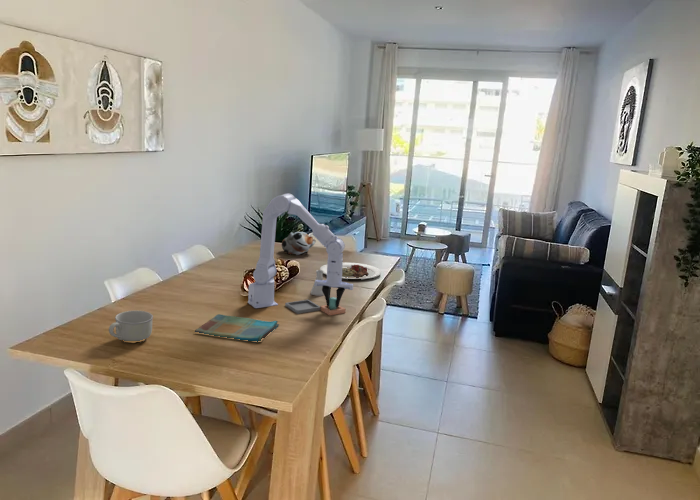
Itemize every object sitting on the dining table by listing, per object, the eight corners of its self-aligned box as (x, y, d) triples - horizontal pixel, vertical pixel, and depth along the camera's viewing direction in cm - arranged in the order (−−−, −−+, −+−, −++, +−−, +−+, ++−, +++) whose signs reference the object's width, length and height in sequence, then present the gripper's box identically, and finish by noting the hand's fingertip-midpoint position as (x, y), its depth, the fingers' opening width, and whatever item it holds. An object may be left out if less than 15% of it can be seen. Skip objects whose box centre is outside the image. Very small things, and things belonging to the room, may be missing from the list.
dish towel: (261, 345, 164) (261, 338, 163) (193, 336, 168) (193, 328, 168) (279, 327, 180) (279, 320, 179) (217, 318, 185) (217, 312, 184)
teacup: (142, 330, 169) (141, 307, 167) (160, 340, 162) (159, 316, 160) (99, 342, 158) (98, 317, 156) (116, 353, 151) (115, 327, 150)
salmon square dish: (329, 316, 192) (329, 311, 191) (320, 310, 197) (320, 305, 197) (345, 313, 196) (345, 308, 195) (335, 307, 201) (335, 303, 201)
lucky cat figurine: (308, 249, 299) (317, 228, 291) (308, 263, 289) (318, 242, 281) (280, 241, 294) (289, 219, 286) (279, 255, 284) (289, 233, 276)
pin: (331, 312, 194) (331, 300, 193) (327, 310, 197) (327, 297, 196) (338, 311, 196) (338, 299, 195) (333, 309, 198) (334, 296, 197)
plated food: (313, 278, 241) (313, 271, 241) (327, 263, 270) (327, 257, 270) (376, 284, 237) (377, 277, 236) (384, 269, 265) (384, 262, 265)
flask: (324, 297, 214) (325, 274, 212) (308, 295, 215) (308, 272, 213) (329, 292, 221) (330, 269, 218) (312, 290, 222) (313, 267, 220)
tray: (297, 314, 192) (297, 310, 191) (285, 306, 200) (285, 302, 199) (320, 310, 197) (320, 307, 197) (308, 303, 205) (308, 299, 205)
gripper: (355, 270, 196) (353, 304, 198) (318, 266, 198) (317, 300, 201) (351, 275, 189) (350, 310, 192) (313, 271, 192) (312, 306, 194)
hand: (332, 305), depth 196 cm, fingers closed on pin, 3 cm apart
